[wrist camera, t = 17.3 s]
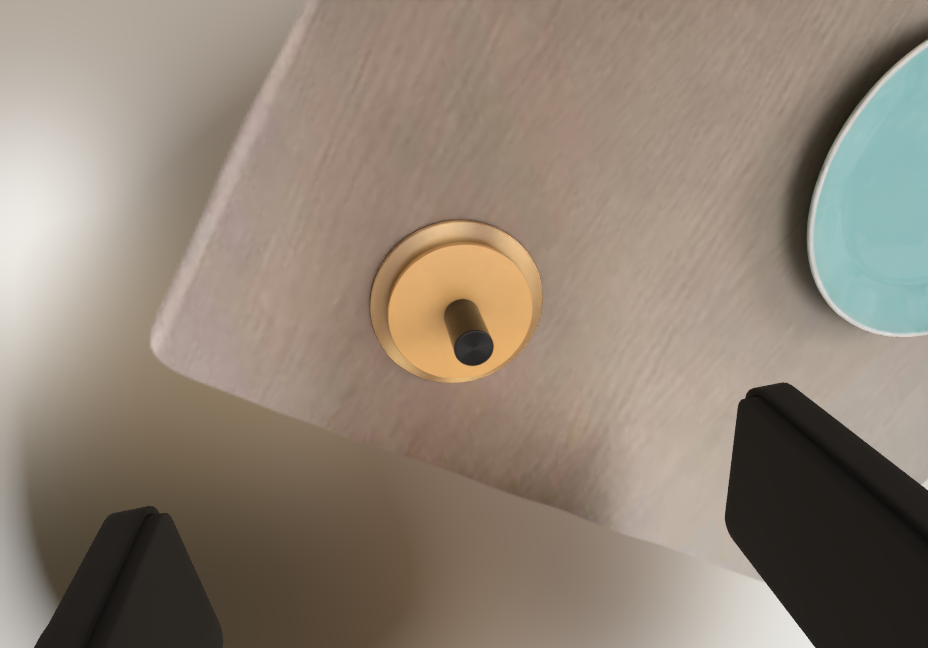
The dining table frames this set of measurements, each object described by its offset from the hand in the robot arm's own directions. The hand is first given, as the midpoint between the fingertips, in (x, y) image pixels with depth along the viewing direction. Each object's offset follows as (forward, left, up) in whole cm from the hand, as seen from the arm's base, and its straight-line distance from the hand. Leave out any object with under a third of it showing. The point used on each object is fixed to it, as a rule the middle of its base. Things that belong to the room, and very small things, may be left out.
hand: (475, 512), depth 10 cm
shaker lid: (+6, -8, -28) cm, 30 cm away
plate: (+38, +7, -30) cm, 49 cm away
